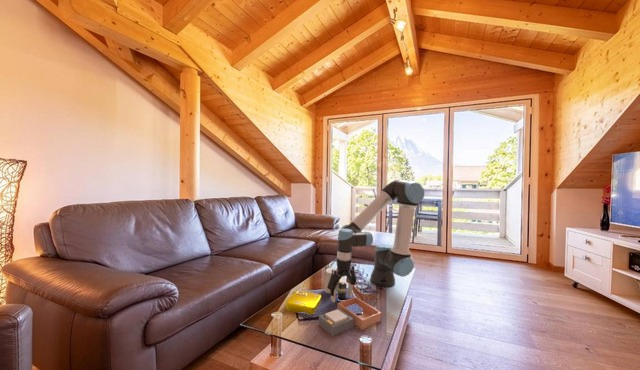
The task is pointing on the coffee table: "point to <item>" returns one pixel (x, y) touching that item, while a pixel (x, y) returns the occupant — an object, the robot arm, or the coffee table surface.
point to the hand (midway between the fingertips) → (341, 298)
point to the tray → (368, 316)
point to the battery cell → (342, 291)
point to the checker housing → (335, 328)
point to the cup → (327, 279)
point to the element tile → (303, 302)
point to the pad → (336, 316)
